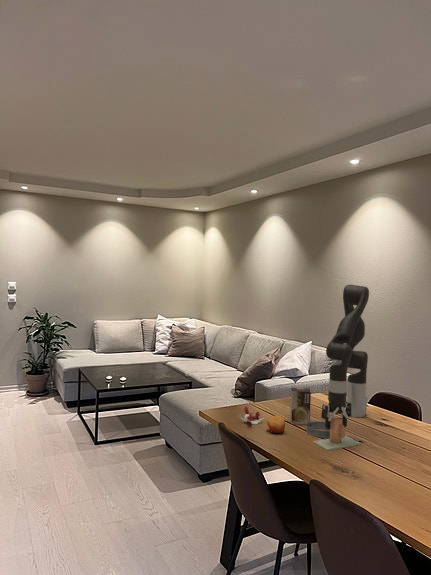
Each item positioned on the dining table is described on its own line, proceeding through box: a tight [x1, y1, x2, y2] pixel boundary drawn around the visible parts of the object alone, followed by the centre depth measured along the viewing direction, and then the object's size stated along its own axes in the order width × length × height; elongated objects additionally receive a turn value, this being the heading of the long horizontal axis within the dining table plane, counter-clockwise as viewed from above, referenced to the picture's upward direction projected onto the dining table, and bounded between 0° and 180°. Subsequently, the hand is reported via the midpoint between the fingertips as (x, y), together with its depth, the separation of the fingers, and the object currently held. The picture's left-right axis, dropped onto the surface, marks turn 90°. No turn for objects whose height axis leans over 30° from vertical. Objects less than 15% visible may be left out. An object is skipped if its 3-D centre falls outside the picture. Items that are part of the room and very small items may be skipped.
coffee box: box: [289, 387, 312, 426], centre depth 209 cm, size 9×6×16 cm
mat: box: [312, 435, 362, 451], centre depth 184 cm, size 18×9×1 cm, turn 115°
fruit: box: [266, 415, 286, 434], centre depth 196 cm, size 8×8×8 cm
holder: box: [305, 420, 330, 439], centre depth 196 cm, size 13×13×3 cm
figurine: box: [239, 405, 264, 425], centre depth 206 cm, size 15×12×7 cm
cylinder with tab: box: [329, 415, 346, 444], centre depth 183 cm, size 7×5×10 cm
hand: (336, 427), depth 184 cm, fingers open, 8 cm apart
